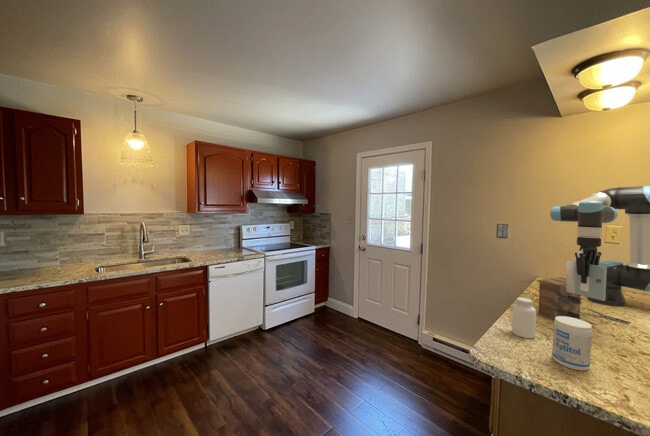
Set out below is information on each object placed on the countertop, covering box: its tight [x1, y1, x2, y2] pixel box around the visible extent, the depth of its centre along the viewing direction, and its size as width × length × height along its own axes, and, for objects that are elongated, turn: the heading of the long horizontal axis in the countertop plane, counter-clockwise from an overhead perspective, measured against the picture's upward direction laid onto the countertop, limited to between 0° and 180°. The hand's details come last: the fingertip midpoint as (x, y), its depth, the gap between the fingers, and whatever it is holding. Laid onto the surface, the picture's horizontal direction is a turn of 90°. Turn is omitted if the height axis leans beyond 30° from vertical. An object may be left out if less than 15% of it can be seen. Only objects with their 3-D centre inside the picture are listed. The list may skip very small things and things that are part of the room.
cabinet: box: [537, 276, 582, 321], centre depth 128 cm, size 18×14×17 cm
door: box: [565, 260, 607, 301], centre depth 116 cm, size 4×14×14 cm, turn 16°
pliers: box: [580, 306, 632, 325], centre depth 131 cm, size 10×1×20 cm
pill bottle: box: [511, 297, 537, 339], centre depth 111 cm, size 8×8×15 cm
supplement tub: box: [551, 316, 593, 371], centre depth 90 cm, size 10×10×15 cm
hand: (586, 290), depth 115 cm, fingers closed on door, 2 cm apart
